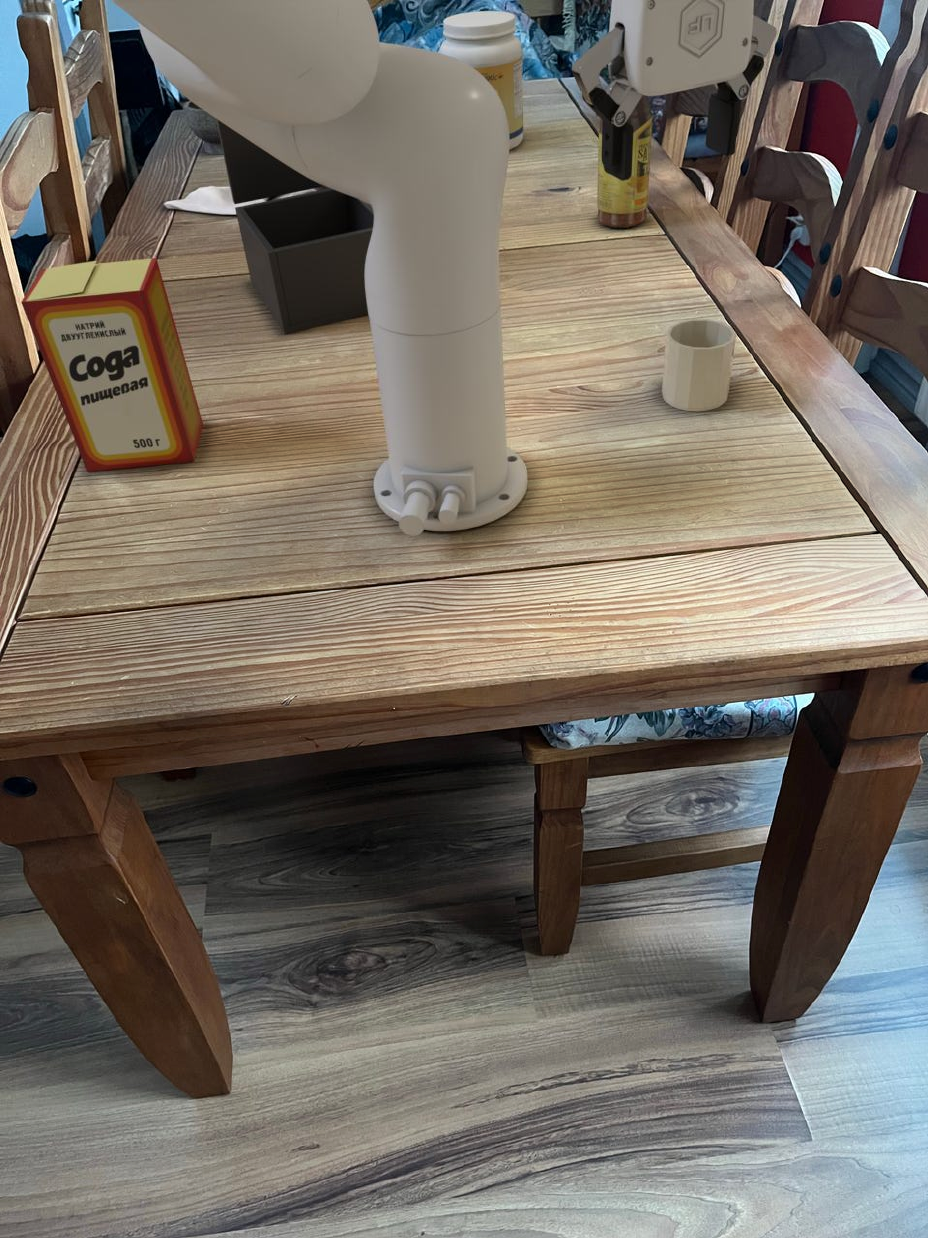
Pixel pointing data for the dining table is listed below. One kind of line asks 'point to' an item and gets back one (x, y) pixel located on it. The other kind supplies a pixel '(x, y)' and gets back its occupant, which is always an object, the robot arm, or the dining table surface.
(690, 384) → the cup
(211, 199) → the cloth
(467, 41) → the supplement tub
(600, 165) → the sauce bottle
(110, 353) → the baking soda box
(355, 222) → the dark grey storage bin
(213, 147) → the mortar and pestle
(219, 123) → the compartment lid
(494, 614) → the dining table surface
